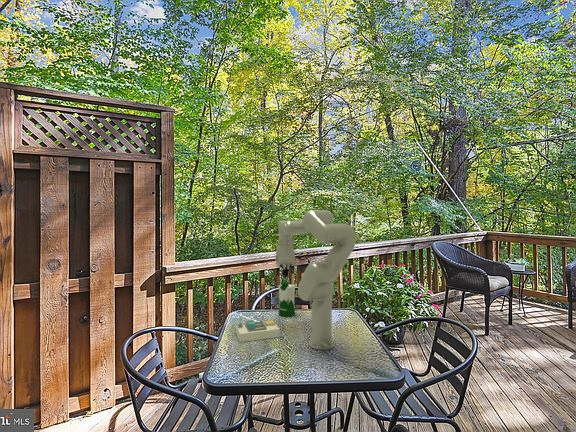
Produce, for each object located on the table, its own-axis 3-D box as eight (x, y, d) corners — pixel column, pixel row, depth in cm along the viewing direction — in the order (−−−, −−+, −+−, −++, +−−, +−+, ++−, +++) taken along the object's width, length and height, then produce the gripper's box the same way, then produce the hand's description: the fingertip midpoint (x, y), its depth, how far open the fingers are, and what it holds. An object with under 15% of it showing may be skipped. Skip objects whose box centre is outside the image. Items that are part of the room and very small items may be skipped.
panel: (279, 336, 163) (279, 317, 163) (240, 342, 157) (239, 321, 156) (273, 328, 174) (273, 310, 174) (235, 333, 168) (235, 314, 168)
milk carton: (276, 315, 195) (276, 282, 195) (285, 311, 203) (284, 279, 203) (289, 318, 191) (289, 284, 190) (297, 314, 198) (297, 281, 198)
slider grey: (253, 326, 166) (253, 320, 166) (247, 327, 165) (247, 320, 165) (252, 325, 169) (252, 318, 168) (246, 325, 168) (246, 318, 168)
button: (274, 332, 169) (274, 323, 169) (266, 333, 167) (266, 323, 167) (272, 329, 173) (272, 320, 173) (264, 330, 172) (264, 321, 171)
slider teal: (255, 330, 161) (255, 323, 161) (249, 331, 160) (249, 323, 160) (254, 328, 164) (254, 321, 164) (248, 329, 163) (248, 322, 163)
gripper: (295, 241, 185) (295, 274, 185) (270, 242, 180) (270, 275, 180) (300, 243, 178) (300, 276, 178) (274, 244, 173) (274, 278, 173)
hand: (285, 276), depth 179 cm, fingers closed
